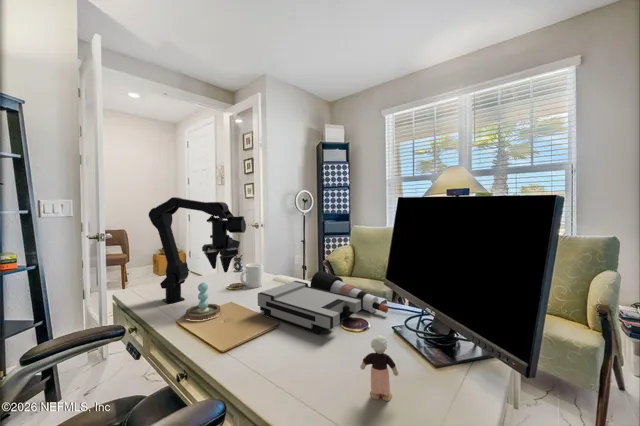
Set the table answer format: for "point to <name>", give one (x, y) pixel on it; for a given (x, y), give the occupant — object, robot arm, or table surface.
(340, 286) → the cable
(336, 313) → the grey boxy piece
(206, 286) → the bead stack
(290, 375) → the table surface
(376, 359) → the grandmother figurine
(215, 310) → the groove tray
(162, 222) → the robot arm
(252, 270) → the mug
